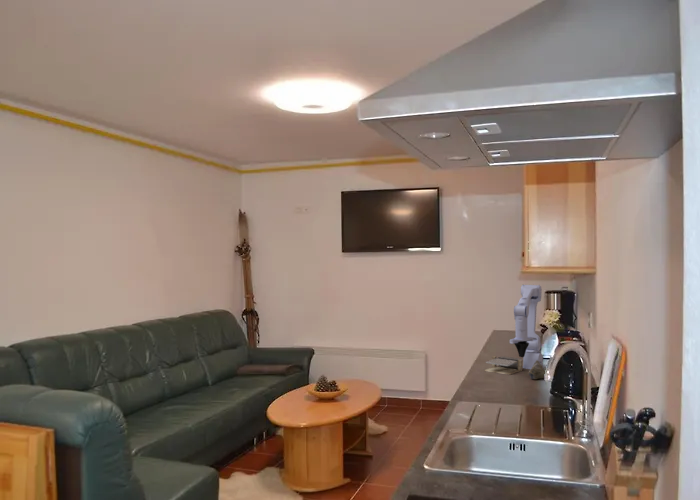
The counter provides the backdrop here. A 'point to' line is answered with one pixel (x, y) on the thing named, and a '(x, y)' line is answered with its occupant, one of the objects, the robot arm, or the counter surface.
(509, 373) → the frame
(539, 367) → the rock
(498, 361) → the trapdoor
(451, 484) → the counter surface
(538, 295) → the robot arm
